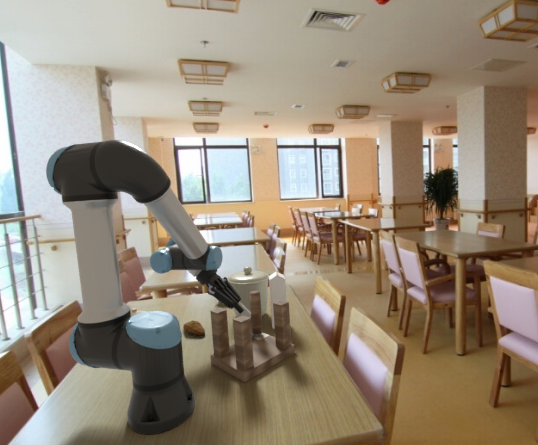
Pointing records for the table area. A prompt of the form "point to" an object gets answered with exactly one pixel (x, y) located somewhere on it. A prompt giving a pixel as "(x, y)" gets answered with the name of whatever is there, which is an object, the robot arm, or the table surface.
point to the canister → (250, 287)
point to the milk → (276, 290)
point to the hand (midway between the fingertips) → (249, 317)
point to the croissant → (194, 328)
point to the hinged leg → (256, 313)
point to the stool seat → (250, 343)
